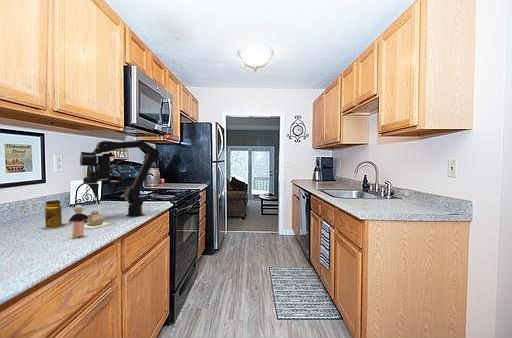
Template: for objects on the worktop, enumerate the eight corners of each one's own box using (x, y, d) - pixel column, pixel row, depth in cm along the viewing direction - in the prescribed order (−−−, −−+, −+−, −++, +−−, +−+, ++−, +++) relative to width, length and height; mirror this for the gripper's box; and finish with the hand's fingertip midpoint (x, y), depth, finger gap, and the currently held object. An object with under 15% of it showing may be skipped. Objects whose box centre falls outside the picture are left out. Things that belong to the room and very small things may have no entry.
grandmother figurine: (71, 239, 106) (70, 206, 106) (66, 238, 108) (65, 205, 108) (92, 235, 113) (91, 204, 112) (87, 233, 115) (86, 203, 114)
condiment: (41, 229, 123) (40, 202, 122) (49, 225, 131) (48, 199, 130) (60, 228, 125) (60, 201, 125) (67, 223, 133) (66, 198, 133)
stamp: (102, 224, 131) (102, 211, 131) (93, 226, 127) (93, 212, 127) (96, 223, 133) (96, 210, 133) (87, 225, 129) (86, 211, 129)
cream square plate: (99, 221, 138) (99, 220, 138) (116, 223, 133) (116, 222, 133) (72, 227, 126) (72, 226, 126) (90, 229, 121) (90, 228, 121)
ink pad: (91, 218, 146) (91, 215, 146) (101, 219, 143) (101, 216, 143) (72, 222, 137) (72, 218, 137) (82, 223, 134) (82, 220, 134)
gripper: (109, 165, 154) (109, 193, 155) (75, 165, 137) (76, 197, 138) (123, 165, 149) (124, 194, 150) (90, 166, 132) (91, 198, 133)
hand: (104, 196), depth 143 cm, fingers open, 9 cm apart
